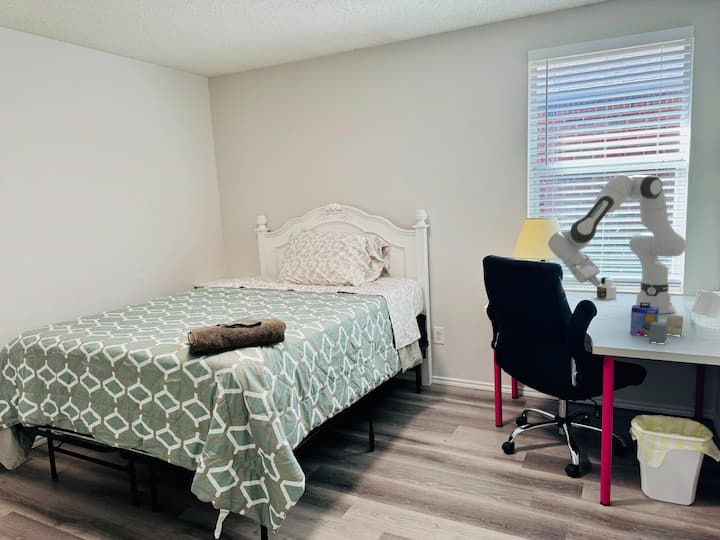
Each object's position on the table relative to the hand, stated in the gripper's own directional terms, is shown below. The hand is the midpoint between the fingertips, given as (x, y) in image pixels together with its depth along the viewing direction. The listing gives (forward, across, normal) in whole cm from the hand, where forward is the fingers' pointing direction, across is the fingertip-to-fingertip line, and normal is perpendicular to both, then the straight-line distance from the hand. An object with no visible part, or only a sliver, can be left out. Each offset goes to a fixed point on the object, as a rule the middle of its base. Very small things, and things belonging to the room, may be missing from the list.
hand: (598, 285), depth 223 cm
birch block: (+34, +6, -6) cm, 35 cm away
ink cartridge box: (+27, -1, +1) cm, 27 cm away
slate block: (+32, -10, -4) cm, 34 cm away
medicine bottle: (+5, +64, +25) cm, 69 cm away
